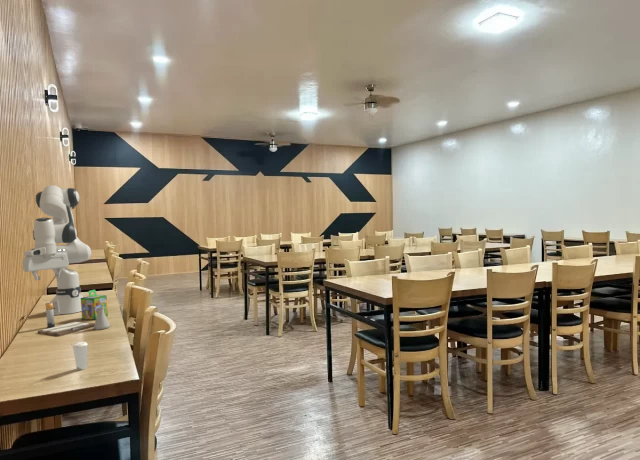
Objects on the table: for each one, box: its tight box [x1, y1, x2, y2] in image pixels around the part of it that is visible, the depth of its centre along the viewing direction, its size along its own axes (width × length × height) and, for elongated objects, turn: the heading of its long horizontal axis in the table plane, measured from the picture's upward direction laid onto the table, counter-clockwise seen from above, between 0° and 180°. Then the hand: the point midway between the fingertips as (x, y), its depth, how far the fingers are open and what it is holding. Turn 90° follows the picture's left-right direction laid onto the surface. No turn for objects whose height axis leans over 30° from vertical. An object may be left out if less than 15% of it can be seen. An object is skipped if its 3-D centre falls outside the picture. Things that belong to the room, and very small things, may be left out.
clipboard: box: [37, 320, 95, 337], centre depth 208 cm, size 17×19×2 cm
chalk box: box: [80, 289, 109, 321], centre depth 231 cm, size 9×9×15 cm
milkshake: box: [70, 341, 89, 371], centre depth 150 cm, size 4×5×10 cm
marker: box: [45, 302, 56, 329], centre depth 215 cm, size 3×3×12 cm
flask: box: [92, 307, 111, 331], centre depth 207 cm, size 7×7×10 cm
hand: (47, 278), depth 213 cm, fingers open, 8 cm apart
